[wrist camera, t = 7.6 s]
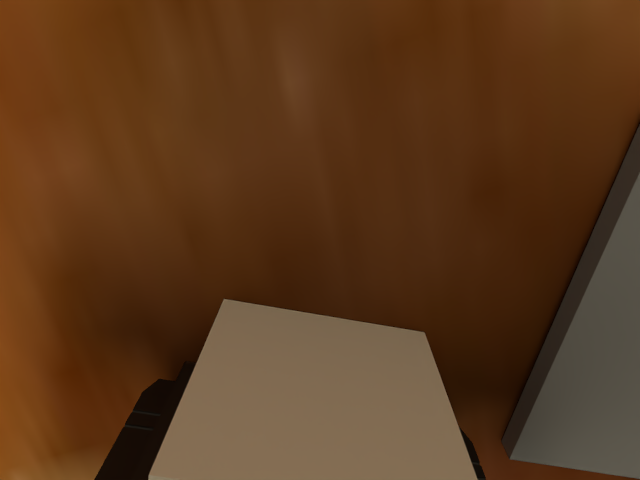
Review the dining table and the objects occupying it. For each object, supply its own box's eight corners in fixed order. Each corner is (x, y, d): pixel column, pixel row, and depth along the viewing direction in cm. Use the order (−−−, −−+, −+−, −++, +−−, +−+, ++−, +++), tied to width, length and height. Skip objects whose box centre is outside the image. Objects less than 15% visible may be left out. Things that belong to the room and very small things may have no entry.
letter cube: (424, 332, 11) (496, 531, 6) (378, 477, 13) (408, 715, 8) (224, 299, 11) (145, 481, 6) (206, 452, 13) (134, 683, 8)
